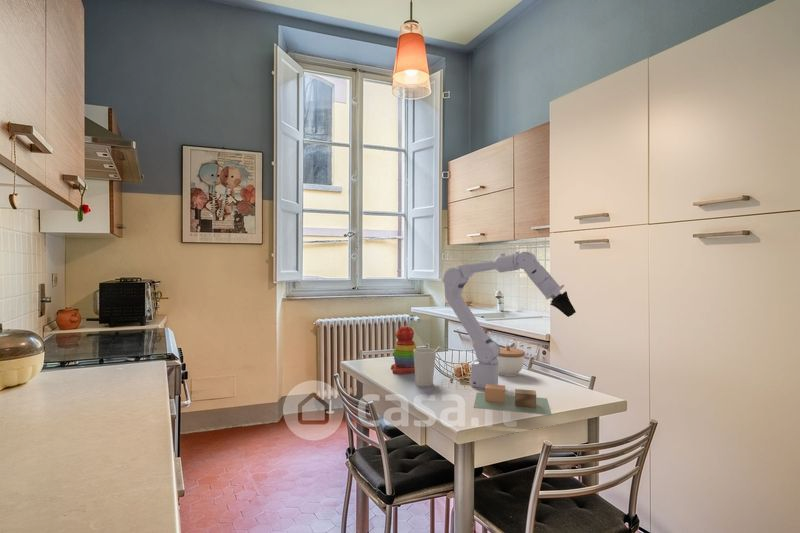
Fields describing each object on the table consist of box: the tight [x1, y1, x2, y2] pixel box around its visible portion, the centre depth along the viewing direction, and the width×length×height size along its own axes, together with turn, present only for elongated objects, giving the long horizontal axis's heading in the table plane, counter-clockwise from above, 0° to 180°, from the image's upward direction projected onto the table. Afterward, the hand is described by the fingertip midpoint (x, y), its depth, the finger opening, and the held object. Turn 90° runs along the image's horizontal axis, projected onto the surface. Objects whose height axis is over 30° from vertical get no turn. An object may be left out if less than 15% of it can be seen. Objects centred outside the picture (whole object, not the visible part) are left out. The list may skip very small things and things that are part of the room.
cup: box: [414, 347, 437, 387], centre depth 161 cm, size 8×8×12 cm
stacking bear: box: [390, 325, 418, 375], centre depth 180 cm, size 11×10×18 cm
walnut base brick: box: [514, 388, 537, 408], centre depth 137 cm, size 6×4×4 cm
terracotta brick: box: [484, 384, 506, 402], centre depth 142 cm, size 6×4×4 cm
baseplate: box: [473, 392, 553, 416], centre depth 139 cm, size 22×16×1 cm
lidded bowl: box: [497, 345, 526, 377], centre depth 178 cm, size 13×13×11 cm
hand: (572, 314), depth 146 cm, fingers open, 7 cm apart
